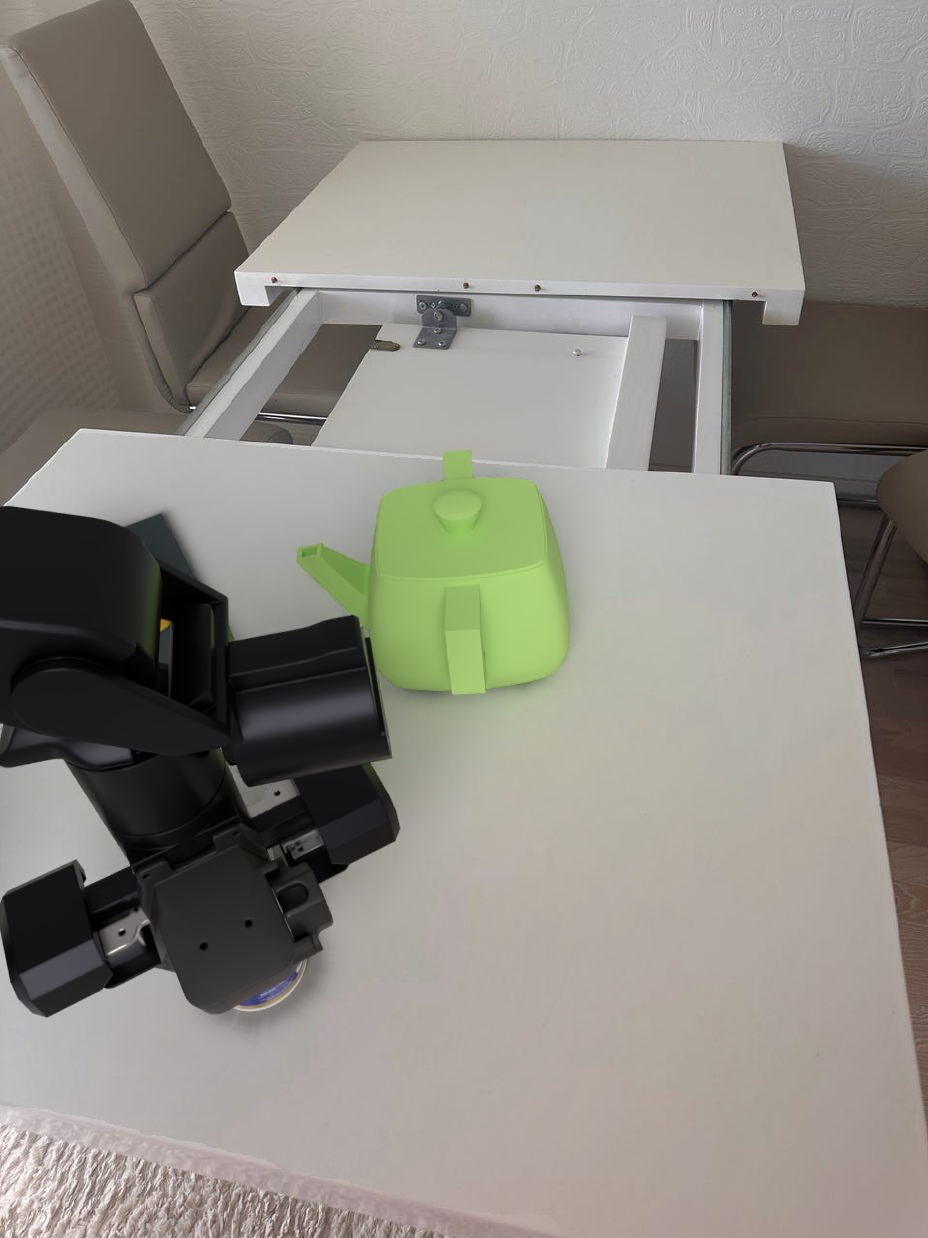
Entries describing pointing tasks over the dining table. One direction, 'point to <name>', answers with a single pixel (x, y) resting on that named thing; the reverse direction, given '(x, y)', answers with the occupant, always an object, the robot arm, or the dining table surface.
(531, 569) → the teapot
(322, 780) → the robot arm
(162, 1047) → the dining table surface
